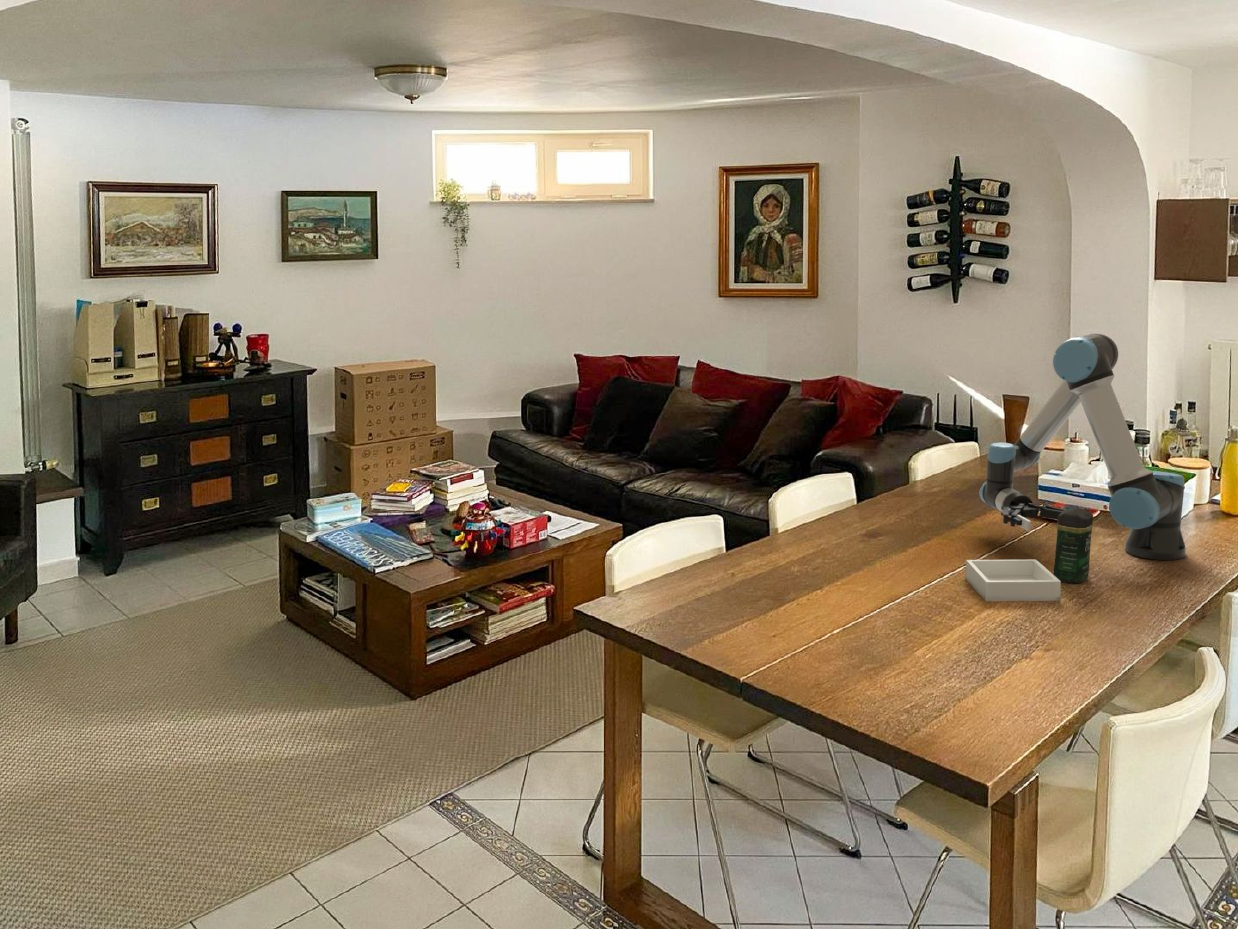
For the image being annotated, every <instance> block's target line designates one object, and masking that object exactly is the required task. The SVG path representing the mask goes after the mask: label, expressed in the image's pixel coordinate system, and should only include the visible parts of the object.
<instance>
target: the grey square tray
mask: <svg viewBox="0 0 1238 929" xmlns="http://www.w3.org/2000/svg"><path fill="white" fill-rule="evenodd" d="M964 576H965V580H966V581H967V582H968V584H969V585H970V586H971V587H972V588H973V589H974V590H975V591H976V592H977V594H978V595H979V596H980V595H981V596H980V597H981V598H982V600H984V601H985V602H1059V601H1061V600H1060V599H1061V598H1060V597H1061V583H1062V581H1060V580H1059V579H1057V578H1056V577H1055V576H1054V575H1053V572H1051V571H1049V570H1048V569H1047V568H1046V567H1045V565H1043V564H1042V563H1041V562H1039V561H1038V560H1037V559H966V560H965V575H964Z"/></svg>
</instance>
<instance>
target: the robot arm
mask: <svg viewBox="0 0 1238 929" xmlns="http://www.w3.org/2000/svg"><path fill="white" fill-rule="evenodd" d="M1118 359H1119V349H1118V346H1117V344H1116V343H1115V341H1114V340H1113V339H1112V338H1110V337H1109V336H1107V335H1105V334H1102V333H1090V334H1087V335H1078V336H1074V337H1071V338H1070V339H1067V340H1065V341H1063V342H1062V343H1060V344H1059V346H1057V348H1056V349H1055V352H1054V353H1053V359H1052V365H1053V369H1054V372H1055V373H1056V375H1057V376H1058V377H1059V378H1060V379H1062V381H1061V383H1060V384H1059V386H1058V387H1057V388H1056V390H1054V392H1053V393H1052V394H1051V396H1050V397H1049V398H1048V400H1047V401H1046V402H1045V404H1044V405H1043V406H1042V408H1041V409H1040V410H1039V411H1038V413H1037V414H1036V415H1035V417H1034V418H1033V419H1032V420H1031V422H1030V423H1029V424H1028V426H1027V427H1026V428H1025V430H1024V431H1023V433H1021V435H1020V436H1019V438H1018V439H1017V440H1015V441H1016V442H1015V443H1014V444H1013V443H1010V442H1009V443H1008V442H993V443H991V444H990V445H989V446H988V452H987V457H986V458H987V463H986V464H987V465H986V480H985V482H983V484H982V485H981V487H980V489H979V492H978V493H979V498H980V499H981V501H982V502H983V503H984V504H986V505H987V506H988V507H990V508H993V509H995V510H996V511H998V512H1000V515H1001V516H1002V523H1003V524H1004V525H1005V524H1006V525H1007V524H1009V523H1010V525H1009V526H1010V527H1016V526H1018V527H1019V528H1022V529H1023V530H1026V532H1031V528H1032V521H1031V520H1030V519H1029V518H1032V519H1033V518H1035V519H1043V518H1046V519H1050V520H1056V521H1058V515H1059V514H1060V513H1062V512H1064V511H1066V510H1069V509H1068V508H1067V509H1065V508H1061V507H1057V506H1053V505H1049V504H1047V503H1043V504H1042V505H1039V504H1035V503H1034V502H1033V501H1032V499H1031V497H1029V496H1027V494H1024V493H1022V492H1020V491H1018V490H1016V489H1014V488H1013V486H1014V479H1015V478H1014V476H1015V472H1018V471H1021V470H1022V471H1023V470H1026V469H1029V468H1031V467H1033V466H1034V465H1036V464H1037V463H1038V462H1039V461H1040V458H1041V453H1042V451H1043V450H1044V449H1045V448H1046V446H1047V445H1048V444H1049V443H1050V441H1051V440H1052V439H1053V438H1054V437H1055V435H1056V434H1057V433H1058V431H1059V430H1060V429H1061V428H1062V427H1063V425H1064V424H1065V423H1066V421H1067V420H1068V419H1069V418H1070V417H1071V415H1072V414H1073V413H1074V412H1075V410H1076V409H1077V408H1078V407H1079V405H1080V404H1081V405H1082V407H1083V411H1084V413H1085V416H1086V418H1087V421H1088V423H1089V425H1090V428H1091V431H1092V433H1093V436H1094V438H1095V441H1096V444H1097V446H1098V449H1099V452H1100V455H1101V456H1102V459H1103V461H1104V464H1105V467H1106V469H1107V471H1108V472H1107V473H1108V474H1109V477H1110V479H1109V481H1108V482H1107V485H1106V486H1107V488H1108V492H1109V494H1110V496H1111V497H1110V500H1109V503H1108V509H1109V512H1110V515H1111V517H1112V518H1113V520H1115V522H1116V523H1117V524H1118V525H1120V526H1122V527H1124V528H1127V529H1130V530H1129V534H1128V536H1127V538H1126V540H1125V544H1124V551H1125V552H1126V553H1128V554H1130V555H1132V556H1134V557H1138V558H1143V559H1149V560H1158V561H1176V560H1181V559H1183V558H1185V556H1186V549H1187V548H1186V543H1185V540H1184V537H1183V533H1182V529H1181V527H1182V526H1181V524H1182V522H1181V521H1182V513H1183V505H1184V504H1183V503H1184V495H1185V494H1184V493H1185V488H1186V487H1185V486H1186V485H1185V478H1184V476H1183V475H1181V474H1179V473H1174V472H1167V471H1158V470H1150V469H1148V468H1146V467H1145V466H1144V464H1143V462H1142V459H1141V457H1140V455H1139V452H1138V450H1137V446H1136V444H1135V442H1134V439H1133V436H1132V434H1131V431H1130V430H1129V426H1128V424H1127V421H1126V419H1125V416H1124V414H1123V412H1122V409H1121V406H1120V404H1119V403H1120V402H1119V401H1118V399H1117V396H1116V394H1115V393H1116V392H1115V391H1114V388H1113V386H1112V382H1113V381H1114V378H1115V375H1114V371H1113V370H1114V368H1115V366H1116V365H1117V363H1118ZM1038 514H1039V515H1038Z"/></svg>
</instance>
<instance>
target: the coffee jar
mask: <svg viewBox="0 0 1238 929" xmlns="http://www.w3.org/2000/svg"><path fill="white" fill-rule="evenodd" d="M1056 521H1057V524H1056V529H1057V530H1056V541H1055V542H1056V543H1055V554H1054V563H1053V572H1052V574H1053V575H1054V576H1055V577H1056V578H1057V579H1059V580H1060V581H1061V583H1068V584H1070V583H1074V584H1075V583H1076V584H1080V583H1082V582H1085V580H1087V579H1088V578H1089V575H1090V559H1091V558H1090V557H1091V556H1090V555H1091V544H1092V543H1091V542H1092V532H1093V525H1094V515H1093V513H1092V512H1091V511H1090V510H1089V509H1085V508H1080V507H1072V508H1070V509H1069V510H1067V509H1066V511H1064V512H1062V513H1060V514H1059V515H1058V520H1056Z"/></svg>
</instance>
